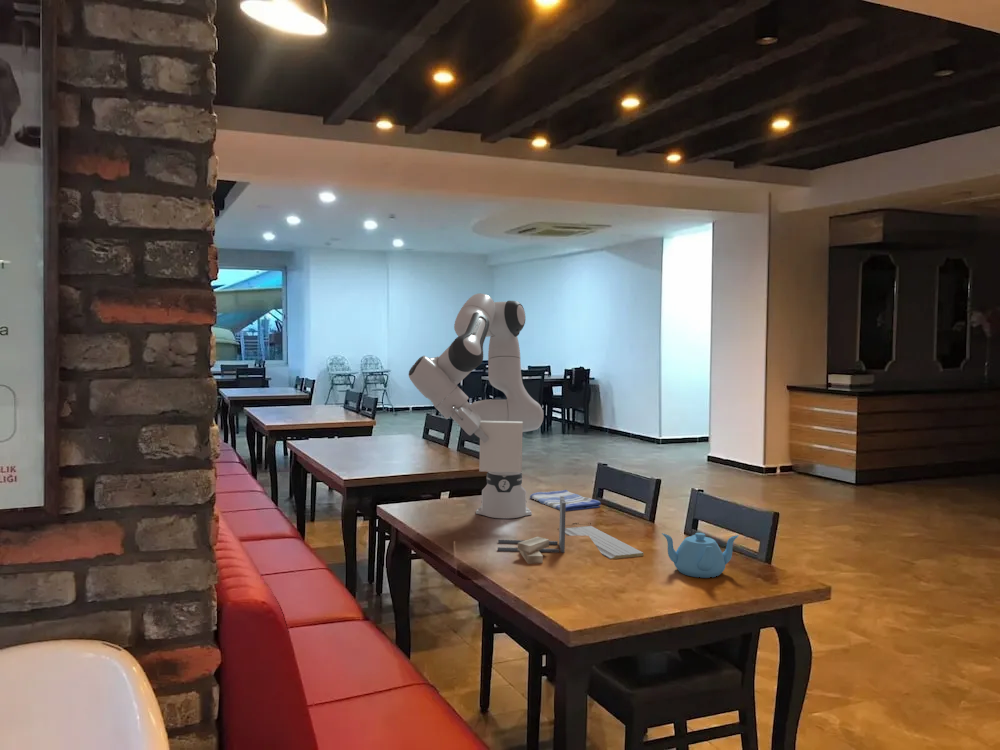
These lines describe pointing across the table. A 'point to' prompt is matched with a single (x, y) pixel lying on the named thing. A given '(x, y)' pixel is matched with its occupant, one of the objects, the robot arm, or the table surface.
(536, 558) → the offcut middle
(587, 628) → the table surface
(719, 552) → the teapot
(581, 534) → the baseboard molding
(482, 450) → the off-white wooden block
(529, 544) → the offcut top
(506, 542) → the rack
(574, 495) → the dish towel
